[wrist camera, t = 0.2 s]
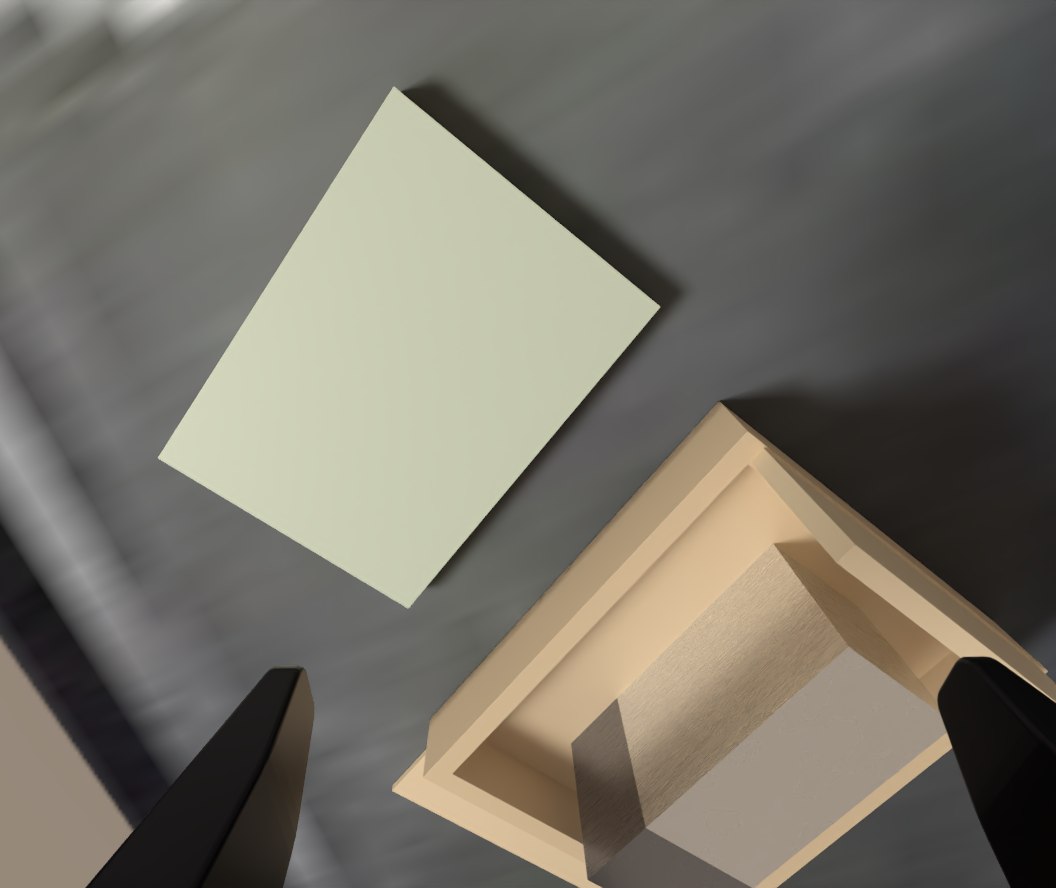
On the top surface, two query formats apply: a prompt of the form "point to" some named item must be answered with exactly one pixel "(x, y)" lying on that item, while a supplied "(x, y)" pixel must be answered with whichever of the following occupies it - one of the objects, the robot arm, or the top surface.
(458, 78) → the top surface
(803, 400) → the top surface
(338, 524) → the sage board
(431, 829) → the top surface
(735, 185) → the top surface
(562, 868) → the tray
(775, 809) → the metal tin
